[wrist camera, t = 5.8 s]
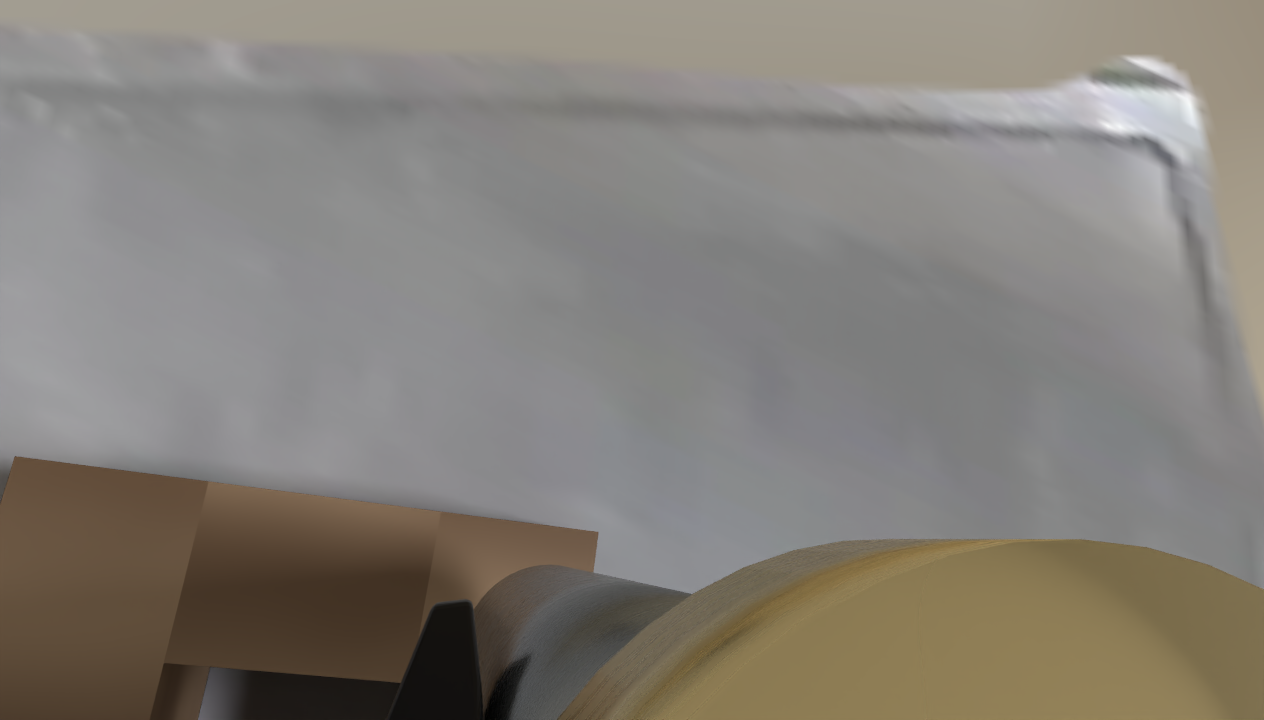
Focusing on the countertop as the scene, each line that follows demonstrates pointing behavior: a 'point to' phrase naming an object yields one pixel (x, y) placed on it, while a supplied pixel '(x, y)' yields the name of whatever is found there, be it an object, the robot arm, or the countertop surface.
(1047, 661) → the steel pin
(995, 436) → the countertop surface
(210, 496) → the socket block
